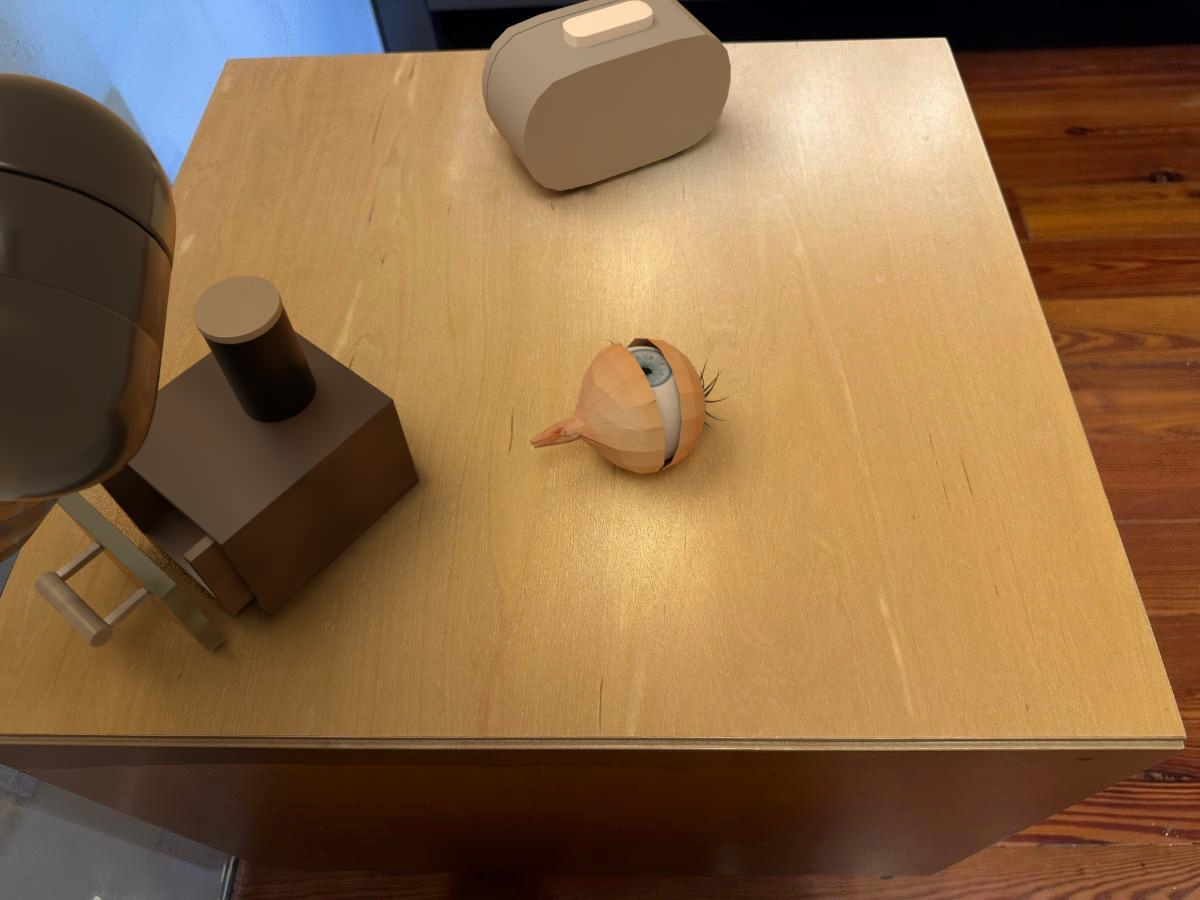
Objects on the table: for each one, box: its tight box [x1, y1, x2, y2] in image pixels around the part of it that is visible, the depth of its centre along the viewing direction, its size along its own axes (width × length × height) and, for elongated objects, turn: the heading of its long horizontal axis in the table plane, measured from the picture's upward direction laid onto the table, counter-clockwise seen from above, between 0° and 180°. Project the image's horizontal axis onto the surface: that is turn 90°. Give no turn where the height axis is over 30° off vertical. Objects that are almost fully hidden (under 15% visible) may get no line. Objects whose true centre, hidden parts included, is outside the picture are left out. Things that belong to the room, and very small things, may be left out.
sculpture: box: [529, 337, 729, 475], centre depth 64 cm, size 9×9×15 cm
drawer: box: [33, 465, 255, 654], centre depth 59 cm, size 17×11×8 cm
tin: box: [192, 274, 316, 422], centre depth 56 cm, size 5×5×8 cm
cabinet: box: [127, 330, 420, 617], centre depth 62 cm, size 14×13×10 cm
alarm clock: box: [481, 0, 732, 192], centre depth 83 cm, size 21×10×13 cm, turn 117°
